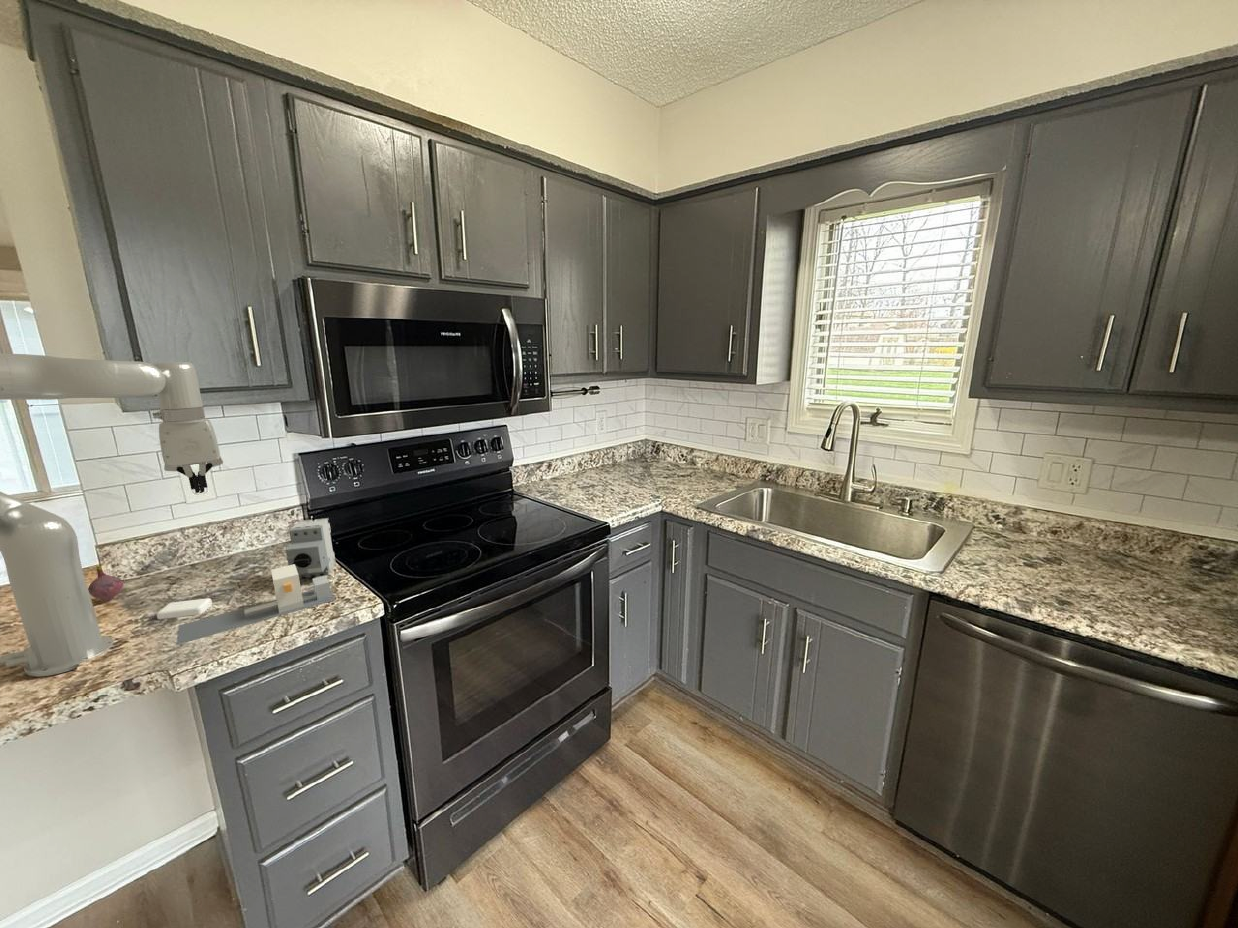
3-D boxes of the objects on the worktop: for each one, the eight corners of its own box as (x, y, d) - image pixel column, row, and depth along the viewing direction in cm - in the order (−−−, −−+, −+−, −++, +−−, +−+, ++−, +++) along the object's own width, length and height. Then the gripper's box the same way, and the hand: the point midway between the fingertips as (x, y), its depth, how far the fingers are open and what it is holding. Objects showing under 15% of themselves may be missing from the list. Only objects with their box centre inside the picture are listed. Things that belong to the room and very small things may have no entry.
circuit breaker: (290, 592, 130) (280, 538, 126) (307, 569, 143) (299, 520, 140) (322, 587, 132) (313, 535, 128) (336, 566, 145) (328, 517, 142)
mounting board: (177, 648, 105) (176, 644, 105) (180, 629, 113) (179, 625, 113) (336, 603, 123) (335, 599, 123) (329, 588, 131) (328, 585, 131)
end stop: (317, 600, 123) (315, 585, 122) (314, 593, 127) (312, 578, 126) (331, 596, 125) (329, 582, 124) (328, 589, 129) (325, 575, 128)
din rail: (245, 618, 115) (244, 613, 115) (245, 614, 117) (244, 609, 117) (319, 597, 124) (318, 593, 124) (317, 594, 126) (317, 590, 126)
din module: (279, 615, 116) (273, 581, 114) (276, 601, 123) (270, 569, 121) (304, 608, 119) (298, 575, 117) (300, 594, 126) (294, 564, 124)
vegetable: (89, 602, 126) (79, 566, 124) (123, 592, 131) (113, 557, 128) (95, 609, 122) (84, 571, 120) (129, 598, 127) (119, 563, 125)
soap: (214, 607, 123) (212, 596, 122) (202, 619, 118) (199, 607, 117) (171, 612, 121) (169, 601, 120) (157, 624, 115) (154, 613, 115)
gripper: (137, 420, 107) (156, 501, 111) (224, 414, 116) (239, 489, 120) (141, 417, 113) (159, 494, 117) (224, 411, 122) (238, 483, 126)
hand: (200, 491), depth 119 cm, fingers closed
